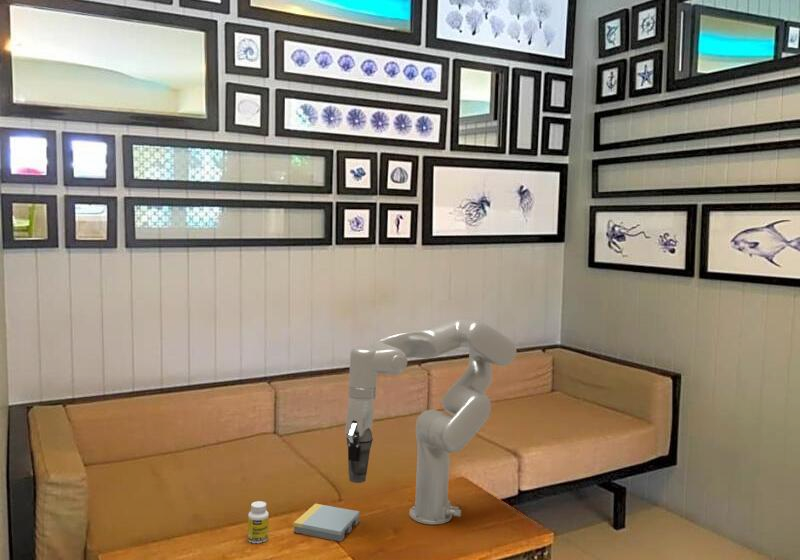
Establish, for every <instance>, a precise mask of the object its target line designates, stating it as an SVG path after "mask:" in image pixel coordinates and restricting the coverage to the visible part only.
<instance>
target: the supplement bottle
mask: <svg viewBox="0 0 800 560" xmlns="http://www.w3.org/2000/svg"><path fill="white" fill-rule="evenodd" d="M269 515H270V514H269V512H268V511H267V503H266V502H265V501H261V500H260V501H259V500H257V501H253V502H252V503H251V505H250V511H249V512H248V515H247V516H248V517H247V537H246V538H247V541H248V542H249V543H251V542H252V543H251V544H255V543H257V544H262V542H263V543H265V542H266V541H267V540H268V537H269V520H270V519H269V518H270V517H269Z"/></svg>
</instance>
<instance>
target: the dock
mask: <svg viewBox="0 0 800 560" xmlns="http://www.w3.org/2000/svg"><path fill="white" fill-rule="evenodd" d="M360 513H361V512H360V511H359V510H354V509H353V510H352V509H347V508H342V507H336V506H332V505H331V506H330V505H325V504H320V503H314V504H313V505H312V506H311V507H310V508H308V509H307V511H305V512H303V514H302V515H301V516H299V517H298V518H297V519H296V520H295V521H294V522H293V533H295V532H296V533H295V534H300V533H301V535H305V534H306V535H305V536H310V537H316V538H320V539H326V540H331V541H335V542H339V543H341V542H342V541H344V539H345V534H349V533H350V532H351V531H352V530H353V529H352V528H353V526H355V527H356V526H357V525H358V524H359V523H360Z"/></svg>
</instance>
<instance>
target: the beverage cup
mask: <svg viewBox="0 0 800 560" xmlns="http://www.w3.org/2000/svg"><path fill="white" fill-rule="evenodd" d="M371 430H372V429H369V428H368V429H367V430H366V432H365V434H364V435H363V436H362V437H361V440H360V445H359V447H361V449H360V461H359V462H357V461H350V460H348V459H347V461H348V462H347V463H348V480H349V481H350V482H351V483H356V484H361V483H364V482H366V479H367V473H368V467H369V458H370V453H371V447H372V444H373V440H374V439H373V433H372V431H371ZM355 435H359V433H355ZM355 439H356V441H357V439H358V438H357V437H355ZM348 440H349V439H348V435H346V443H347V444H346V445H347V452H348V451H349V441H348Z"/></svg>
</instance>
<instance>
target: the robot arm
mask: <svg viewBox="0 0 800 560" xmlns="http://www.w3.org/2000/svg"><path fill="white" fill-rule="evenodd" d="M462 347H463V348H467V349H468V355H469V356H468V358H469V359H468V365H467V368H466V369H465V371H464V372H463V373H462V375H460V376H459V377H458V379H457V380H456V381H455V382H454V383H453V384H452V386H451V387H449V388H448V390H447V391H446V393H444V395H443V397H442V400H441V401H442V402H441V405H442V408H443V409H444V411H445V412H447V413H448V414H447V413H444V412H442V411H440V410H437V409H436V410H435V409H428V410H424V411H423V412H421V413H420V414H419V415H418V417H417V419H416V421H415V437H416V444H417V445H416V446H417V448H416V449H417V458H416V461H417V462H416V476H415V479H416V480H415V495H414V496H415V499H414V501H415V502H414V505H413V506H412V507H410V509H409V514H408V515H409V517H410V518H411V519H412V520H414V521H415V522H416V523H417V522H418V523H421V524H423V525H442V524H446V523H448V522H449V521H451V520H452V517H453V516H455V517H459V518H460V517H461V515H462V510H461V509H460V507H459V506H453V505H451V501H450V499H448V497H449V496H448V495H449V479H450V478H449V475H450V453H451V454H452V453H453V454H454V453H457V452H460V451H461V450H463V448H464V447H466V445H467V444H468V443H469V442H471V440H472V439H473V437H474V436H475V435H476V434H477V433H478V431H480V429H481V428H482V427H483V426H484V425H485V423H486V422H487V420H488V419H489V416H490V414H491V410H492V404H491V400H490V398H489V397H488V395H487V394H486V393H485V392H486V391H487V390H488V388H489V387H490V385H491V383H492V381H493V365H496V366H499V367H506V366H508V365H511V364H512V363H513V362H514V361H515V359H516V357H517V347H516V344H515V343H514V341H513V340H512V339H510V338H509V337H508V336H506V335H504V334H503V333H501V332H499V331H498V330H497V329H495V328H494V327H492V326H490V325H488V324H487V323H485V322H484V321H480V320H476V319H472V318H467V317H455V318H453V319H449V320H447V321H445V322H442V323H439V324H436V325H434V326H433V325H432V326H430V327H428V328H425V329H421V330H420V329H419V330H415V331H408V332H404V333H403V332H402V333H397V334H394V335H393V334H392V335H390V336H387V337H384V338H380V339H379V340H376V341H374V342H372V343H371V344H370V345H369V346H355V347H352V349H351V351H350V355H349V356H350V357H349V360H350V361H349V377H348V394H347V397H348V399H349V400H348V404H347V410H346V417H345V418H346V419H345V428H344V434H345V435H346V436H347V435H348V439H349V440H348V441H349V451H348V450H347V454H348V455H347V461H348V460H350V461H357V462H359V461H360V449H361V447H359V445H360V440H361V437H362V436H363V435H364V434H365V432H366V430H367V429H368V428H369V429H370V430H372V428H373V423H374V400H375V399H376V398H377V397H376V396H377V380H378V379H377V378H378V374H379V375H388V376H393V375H398V374H401V373H402V372H403V371H405V370H406V368H407V366H408V359H410V358H418V359H419V358H420V359H429V358H430V359H431V358H437V357H439V356H441V355H444V354H446V353H449V352H451V351H454V350H457V349H459V348H462ZM451 415H452V416H451ZM355 433H359V435H355ZM355 437H357V438H358V439H357V441H356V439H355Z"/></svg>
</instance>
